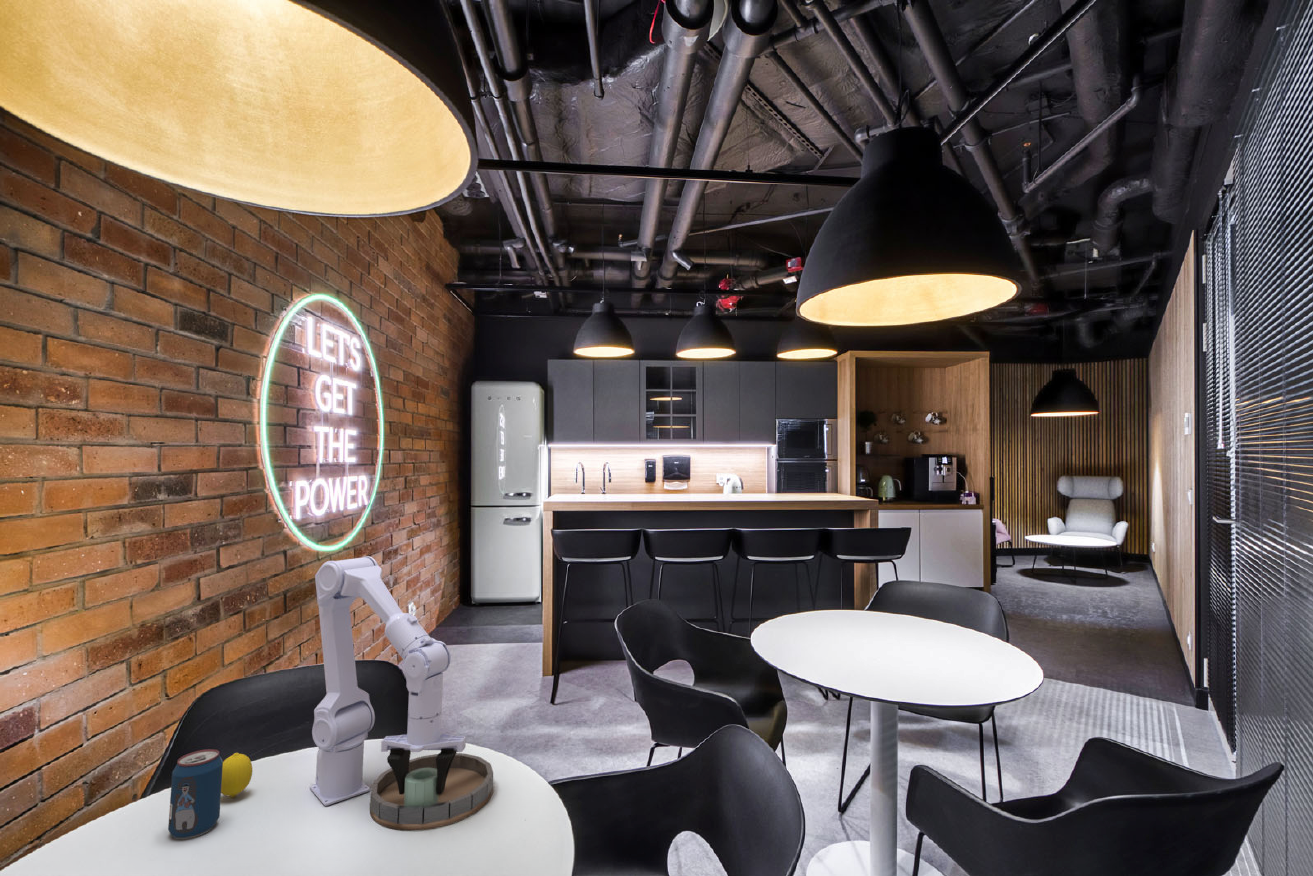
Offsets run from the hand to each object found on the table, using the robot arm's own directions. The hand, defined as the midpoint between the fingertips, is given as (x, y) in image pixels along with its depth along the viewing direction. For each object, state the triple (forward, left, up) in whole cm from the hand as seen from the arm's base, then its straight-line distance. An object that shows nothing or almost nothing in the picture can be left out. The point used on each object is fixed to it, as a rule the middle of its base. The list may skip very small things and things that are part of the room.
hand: (422, 791), depth 107 cm
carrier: (-4, +4, -4) cm, 7 cm away
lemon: (-31, -22, -4) cm, 38 cm away
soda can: (-23, -29, -4) cm, 37 cm away
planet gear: (0, 0, -2) cm, 2 cm away
